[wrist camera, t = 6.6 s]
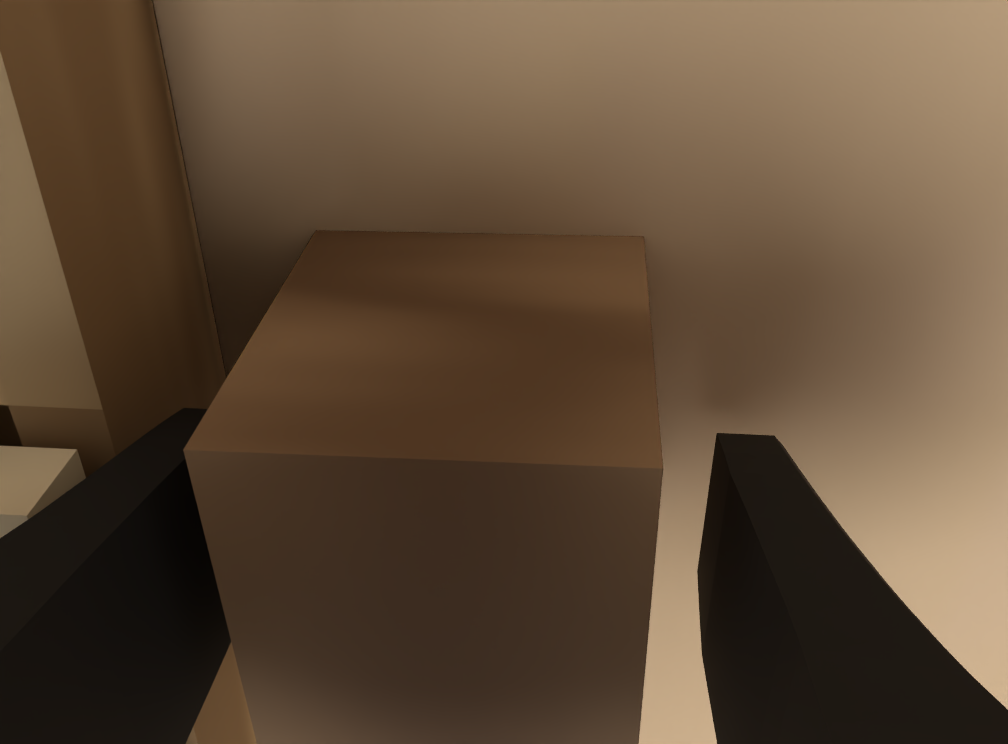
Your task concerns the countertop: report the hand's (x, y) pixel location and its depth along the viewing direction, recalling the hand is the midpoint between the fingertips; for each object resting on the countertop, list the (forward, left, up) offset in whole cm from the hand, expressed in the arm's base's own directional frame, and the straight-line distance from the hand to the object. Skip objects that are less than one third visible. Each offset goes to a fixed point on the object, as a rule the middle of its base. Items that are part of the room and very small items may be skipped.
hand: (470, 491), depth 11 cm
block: (0, 0, -2) cm, 2 cm away
